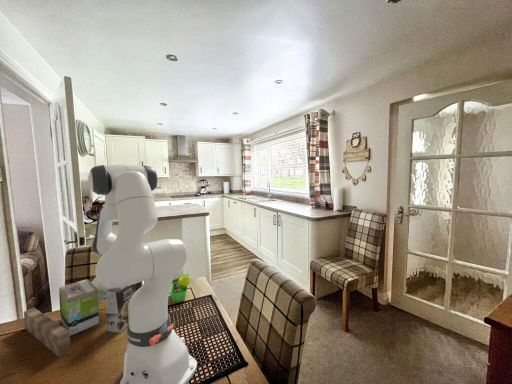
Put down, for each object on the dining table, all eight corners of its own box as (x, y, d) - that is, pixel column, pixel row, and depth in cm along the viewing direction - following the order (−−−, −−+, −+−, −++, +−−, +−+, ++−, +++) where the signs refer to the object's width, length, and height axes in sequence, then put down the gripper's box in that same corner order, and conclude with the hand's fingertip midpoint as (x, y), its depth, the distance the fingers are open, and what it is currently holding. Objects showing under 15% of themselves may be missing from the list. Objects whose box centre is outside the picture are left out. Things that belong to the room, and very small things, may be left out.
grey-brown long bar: (70, 351, 75) (69, 331, 74) (59, 357, 72) (58, 337, 71) (35, 324, 89) (34, 307, 88) (24, 328, 86) (23, 311, 86)
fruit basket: (173, 292, 113) (172, 271, 112) (190, 290, 115) (190, 269, 115) (169, 304, 102) (169, 281, 101) (189, 301, 104) (188, 279, 104)
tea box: (100, 323, 89) (98, 288, 88) (68, 337, 81) (66, 299, 80) (89, 309, 98) (87, 277, 97) (59, 321, 90) (57, 286, 89)
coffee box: (120, 333, 83) (118, 292, 82) (106, 331, 84) (104, 290, 83) (137, 318, 92) (136, 281, 91) (124, 316, 93) (123, 280, 92)
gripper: (100, 265, 105) (77, 294, 97) (125, 273, 96) (102, 306, 88) (110, 270, 109) (89, 299, 101) (135, 279, 100) (114, 311, 92)
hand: (95, 302), depth 94 cm, fingers closed
